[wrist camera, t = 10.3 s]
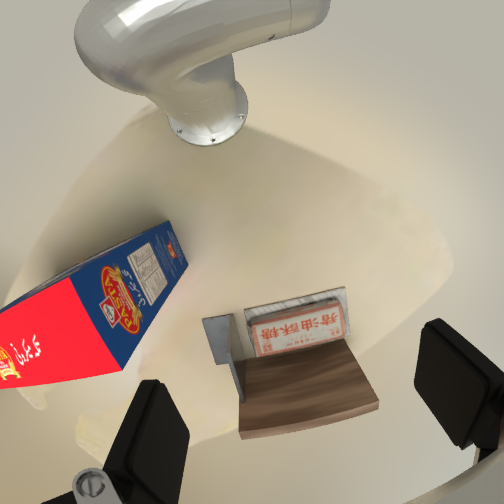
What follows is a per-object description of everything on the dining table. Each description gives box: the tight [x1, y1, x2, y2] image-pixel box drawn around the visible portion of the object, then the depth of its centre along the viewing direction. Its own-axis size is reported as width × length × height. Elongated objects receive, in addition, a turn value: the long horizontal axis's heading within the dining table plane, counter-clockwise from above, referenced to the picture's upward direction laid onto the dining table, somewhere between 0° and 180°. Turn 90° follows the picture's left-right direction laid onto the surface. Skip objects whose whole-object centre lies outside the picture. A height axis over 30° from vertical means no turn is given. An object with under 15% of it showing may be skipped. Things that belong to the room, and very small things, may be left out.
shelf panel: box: [239, 339, 379, 440], centre depth 41 cm, size 2×20×18 cm, turn 101°
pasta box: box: [0, 221, 188, 389], centre depth 32 cm, size 28×8×28 cm, turn 111°
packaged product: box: [244, 287, 350, 357], centre depth 46 cm, size 18×5×10 cm
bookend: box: [202, 314, 246, 403], centre depth 43 cm, size 10×6×12 cm, turn 11°
